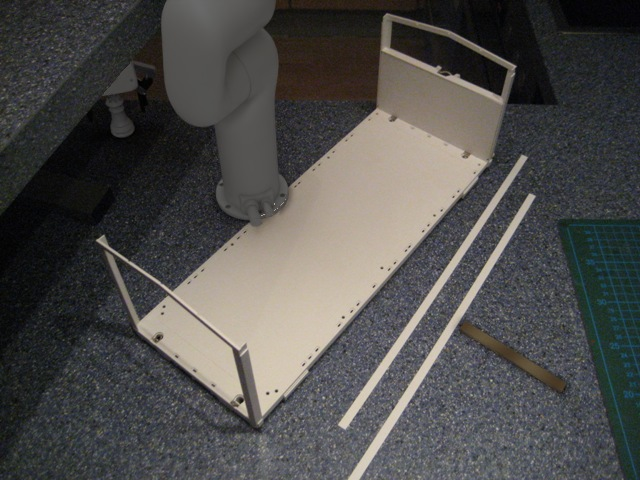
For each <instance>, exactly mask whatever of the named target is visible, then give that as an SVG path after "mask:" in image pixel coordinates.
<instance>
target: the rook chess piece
mask: <svg viewBox="0 0 640 480" xmlns="http://www.w3.org/2000/svg"><path fill="white" fill-rule="evenodd" d="M124 102H125V101H124V98H123V97H122V96H121V95H120V93H119V94H112V95H107V96H106V100H105V105H106V106H107V107H108V111H109V112H110V114H111V115H110V116H111V122H110V125H109V126H110V129H109V130H110V133H111V134H112V135H113V136H114V137H116V138H119V139H124V138H128V137H130V136H131V135H132V134H133V133H134V131H135V128H136V127H135V125H134V122H133V121H132V120H131V119H130V117H129V116H127V113H126V111H125V106H124V105H123V103H124Z"/></svg>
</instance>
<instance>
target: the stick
mask: <svg viewBox="0 0 640 480" xmlns="http://www.w3.org/2000/svg"><path fill="white" fill-rule="evenodd" d="M459 331H460V332H462V333H463V334H465V335H466V336H468V337H470V338H471V339H473V340H474V341H476V342H478V343H479V344H481V345H483V346H484V347H485V348H487V349H489V350H491V351H492V352H494V353H495V354H496V355H499V356H500V357H502V358H503V359H505V360H506V361H508V362H509V363H511V364H512V365H515V366H516V367H518V368H519V369H521V370H522V371H524V372H526V373H527V374H529V375H531V376H532V377H534V378H536V380H539V381H540V382H541V383H543V384H545V385H547V386H548V387H549V388H552V389H553V390H555V391H556V392H558V393H560V394H562V392H563V390H564V389H565V388H566V386H567V382H565V381H564V380H563V379H561V378H559V377H557V376H555V374H553V373H551V372H550V371H547V370H546V369H544V368H543V367H542V366H540V365H538V364H537V363H535V362H533V361H532V360H530V359H528V358H527V357H525V356H523V355H521V353H518V352H516V351H515V350H513V349H512V348H510V347H509V346H507V345H506V344H503V343H502V342H501V341H500V340H498V339H496V338H494V337H492V336H491V335H489V334H487V333H486V332H484V331H482V330H481V329H479V328H478V327H476V326H474V325H473V324H471V323H470V322H468V321H466V320H465V321H463V323H462V325H461V326H460V327H459Z"/></svg>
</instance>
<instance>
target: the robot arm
mask: <svg viewBox="0 0 640 480" xmlns="http://www.w3.org/2000/svg"><path fill="white" fill-rule="evenodd" d="M276 4H277V0H166V1H165V3H164V6H163V9H162V11H161V16H160V17H161V19H160V22H161V23H160V27H161V28H160V31H161V49H162V50H161V51H162V63H163V64H162V65H163V79H164V80H163V81H164V87H165V92H166V95H167V99H168V101H169V103H170V105H171V107H172V109H173V110H174V112H175V113H176V114H177V116H178V117H179V118H181V120H182V121H184V122H185V123H187V124H189V125H190V126H193V127H197V128H208V127H211V126H214V127H213V128H214V133H215V139H216V146H217V153H218V159H219V165H220V169H221V170H220V171H221V179H219V181H218V183H217V185H216V188H215V198H216V203H217V204H218V205H217V206H218V207H219V208H220V210H222V212H224V213H225V214H226V215H228V216H230V217H232V218H235V219H237V220H243V221H249V223H250V225H251V227H253V228H254V227H255V228H257V227H259V226H261V225H262V223H263V220H262V219H266V218H271V217H273V216H274V215H275V214H277V213H278V212H279V211H281V209H283V207H285V204H286V203H287V201H288V200H289V199H288V198H289V186H288V182H287V180H286V179H285V177H284V176H283V175H282V174H281V173H279V163H278V162H279V161H278V159H279V158H278V145H277V142H278V141H277V128H276V126H277V125H276V89H277V84H278V77H279V65H280V63H279V53H278V49H277V46H276V43H275V41H274V40H273V37H272V35H270V34H269V32H268V31H267V30H265V27H266V25H268V23H270V21H271V20H272V18H273V16H274V13H275V10H276ZM137 72H140V73H143V74H145V76H144V77H143V78H142V79H141V78H140V77H138V76H137ZM156 74H157V68H156V66H155V65H154V64H153V65H152V64H148V63H146V62H145V63H144V62H141V61H137V60H133V59H132V61H131V62H130V64H129V65H128V66H127V67H126V68H125V69H124V70H123V71H122V72H121V73H120V75H119V76H118V77H117V78H116V80H115V81H114V82H113V83H112V84H111V86H110V87H109V88H108V89H107V90H106V91H105V92H104V94H103V95H102V96H101V97H105V96H106V97H107V96H108V95H111V96H113V95H112V94H115V95H117V94H119V95H120V94H124V93H129V92H133V91H135V92H136V93H137V98H138V103H139V108H140V111H141V113H143V114H146V111H147V110H146V107H149V103H148V99H147V91H148V90H149V89H150V87H151V86H152V85H153V83H154V80H155V78H156ZM85 117H87V119H88V122H89V123H93V122H94V114H93V109H92V108H91V110H90V111H89V112H88V113H87V115H86V116H85ZM285 199H286V200H285ZM283 202H284V203H283ZM274 203H275V205H274ZM282 203H283V204H282ZM281 204H282V205H281ZM280 205H281V206H280ZM279 206H280V207H279ZM277 208H278V209H277ZM275 209H276V210H275ZM274 210H275V211H274ZM263 214H265V215H263ZM261 215H263V216H261Z"/></svg>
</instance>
